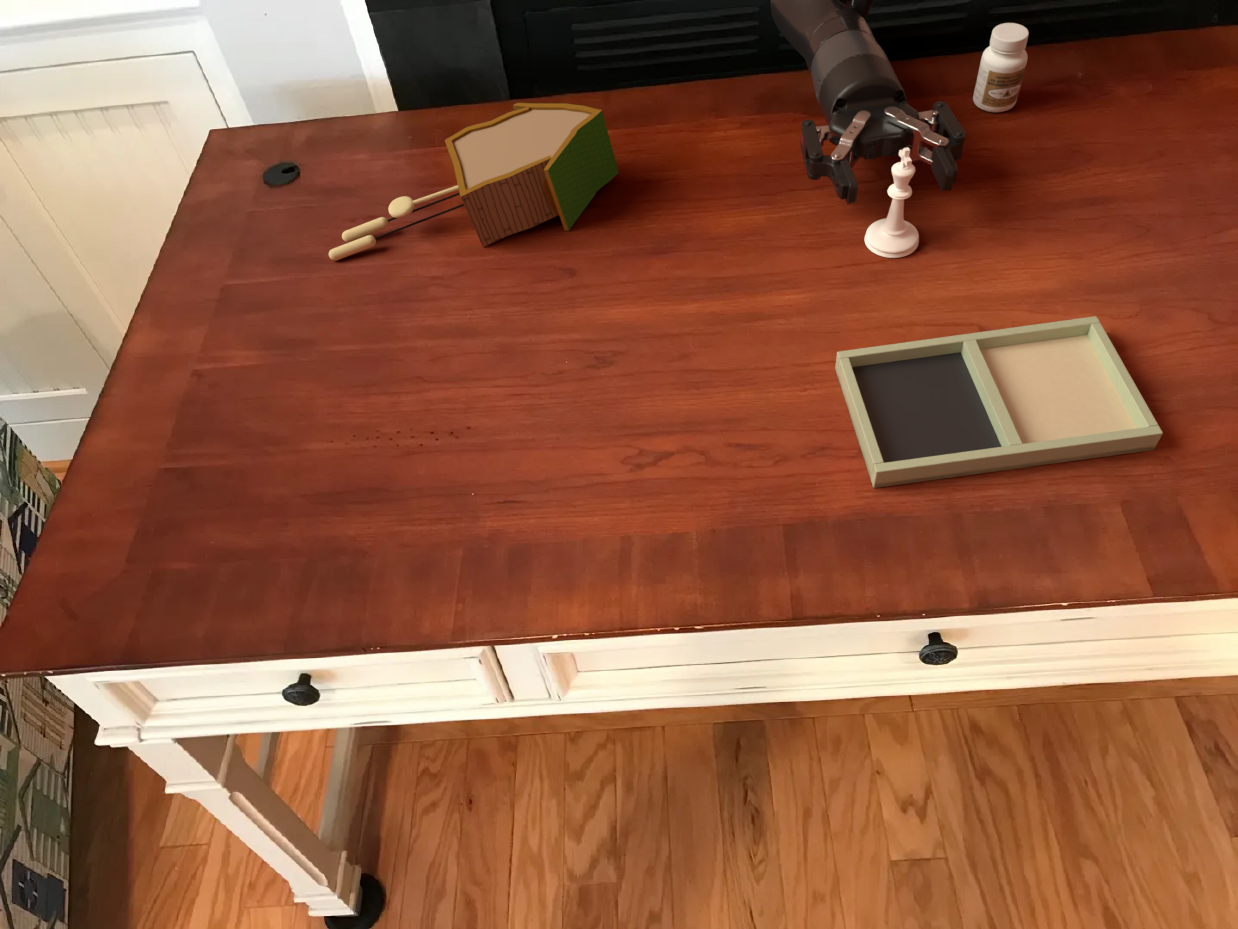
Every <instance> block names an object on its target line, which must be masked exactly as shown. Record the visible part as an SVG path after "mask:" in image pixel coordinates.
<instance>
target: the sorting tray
mask: <svg viewBox="0 0 1238 929" xmlns="http://www.w3.org/2000/svg"><path fill="white" fill-rule="evenodd" d="M1109 337H1110V336H1108V333H1107V332H1106V330H1105V328H1104V326H1103V325H1102V323H1101V321H1100V319H1099V318H1098V316H1096V315H1094V316H1087V317H1080V318H1071V319H1066V320H1057V321H1049V322H1042V323H1035V324H1028V325H1022V326H1021V325H1020V326H1014V327H1007V328H1000V329H999V328H998V329H992V330H984V331H977V332H972V333H970V332H969V333H963V334H956V335H955V334H954V335H948V336H942V337H941V336H940V337H933V338H925V339H919V340H911V341H906V342H905V341H904V342H898V343H890V344H883V345H875V346H869V347H861V348H854V349H847V350H840V351H837V352H836V358H835V365H834V370H835V373H836V376H837V380H838V382H839V385H840V389H841V391H842V395H843V397H844V401H845V404H846V407H847V410H848V414H849V417H850V421H851V423H852V427H853V429H854V433H855V435H856V438H857V442H858V444H859V447H860V448H859V449H860V450H861V454H862V457H863V460H864V463H865V466H866V470H867V472H868V475H869V479H870V481H871V485H872V488H874V489H876V488H883V487H890V486H891V487H892V486H898V485H906V484H913V483H914V484H915V483H921V482H928V481H935V480H943V479H951V478H958V477H965V476H973V475H980V474H987V473H994V472H1001V471H1008V470H1009V471H1010V470H1017V469H1022V468H1023V469H1025V468H1031V467H1038V466H1039V467H1040V466H1044V465H1045V466H1046V465H1053V464H1060V463H1068V462H1074V461H1076V462H1077V461H1082V460H1090V459H1097V458H1104V457H1105V458H1106V457H1111V456H1112V457H1113V456H1120V455H1127V454H1134V453H1141V452H1142V453H1143V452H1148V451H1154V450H1155V449H1156V446H1157V445H1158V443H1159V441H1160V439H1161V438H1162V436H1163V435H1164V434H1163V430H1162V428H1161V427H1160V425H1159V424H1158V422H1157V420H1156V418H1155V416H1154V414H1153V413H1152V411H1151V409H1150V408H1149V405H1148V404H1147V401H1145V399H1144V397H1143V395H1142V394H1141V392H1140V390H1139V388H1138V386H1137V385H1136V383H1135V381H1134V379H1133V377H1132V376H1131V374H1130V372H1129V370H1128V369H1127V367H1126V365H1125V364H1124V362H1123V360H1122V358H1121V356H1120V355H1119V353H1118V351H1117V349H1116V347H1115V346H1114V344H1113V342H1112V341H1111V339H1110V338H1109Z"/></svg>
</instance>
